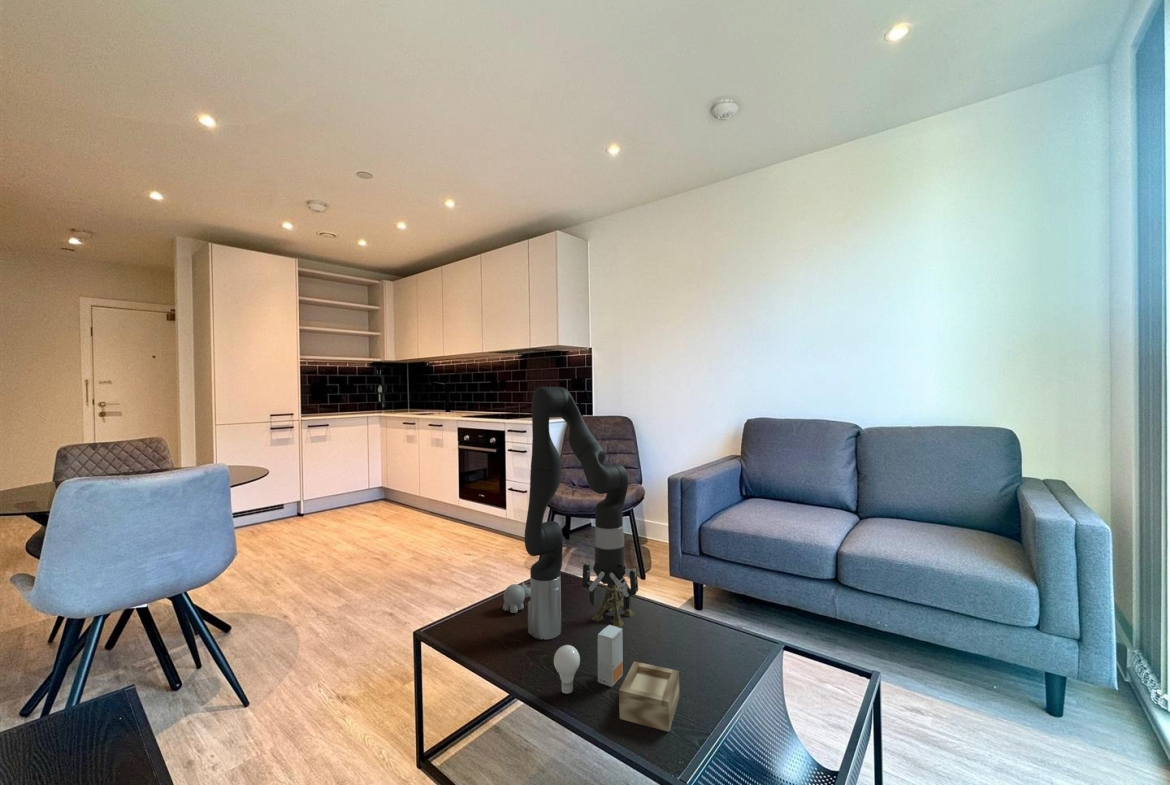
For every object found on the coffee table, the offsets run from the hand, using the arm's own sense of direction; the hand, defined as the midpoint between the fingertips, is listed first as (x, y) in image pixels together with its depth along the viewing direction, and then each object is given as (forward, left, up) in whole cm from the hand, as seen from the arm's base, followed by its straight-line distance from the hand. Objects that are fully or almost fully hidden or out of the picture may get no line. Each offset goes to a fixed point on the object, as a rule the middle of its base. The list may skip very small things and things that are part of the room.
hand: (610, 607), depth 115 cm
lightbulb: (-8, -9, -18) cm, 22 cm away
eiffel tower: (-10, +32, -18) cm, 38 cm away
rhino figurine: (-42, +27, -18) cm, 53 cm away
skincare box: (0, 0, -18) cm, 18 cm away
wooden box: (+12, -7, -18) cm, 23 cm away
